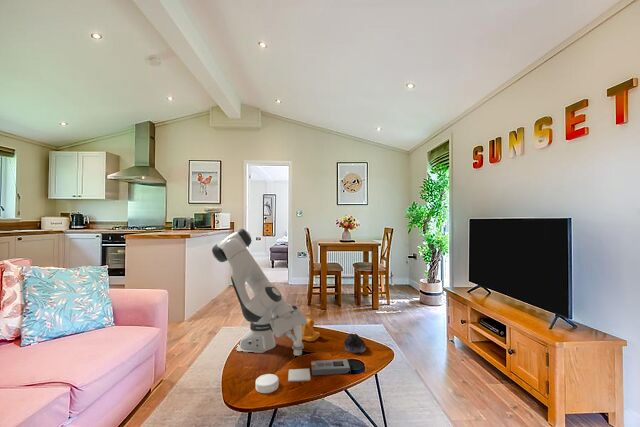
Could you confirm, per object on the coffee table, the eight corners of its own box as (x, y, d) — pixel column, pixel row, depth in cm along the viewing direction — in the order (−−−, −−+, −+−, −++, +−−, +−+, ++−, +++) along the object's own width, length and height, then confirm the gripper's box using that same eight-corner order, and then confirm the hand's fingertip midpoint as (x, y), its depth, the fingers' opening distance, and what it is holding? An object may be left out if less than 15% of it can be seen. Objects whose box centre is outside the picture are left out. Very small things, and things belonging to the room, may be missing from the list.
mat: (288, 381, 131) (288, 380, 131) (288, 370, 141) (288, 369, 141) (310, 380, 131) (310, 379, 131) (309, 369, 141) (309, 368, 141)
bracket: (310, 342, 174) (309, 322, 174) (300, 340, 178) (300, 320, 178) (320, 337, 183) (320, 317, 183) (311, 334, 187) (310, 315, 187)
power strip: (312, 375, 136) (311, 368, 136) (311, 366, 145) (311, 359, 145) (350, 373, 137) (350, 366, 137) (347, 364, 146) (346, 357, 146)
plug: (291, 356, 133) (291, 327, 134) (292, 351, 139) (291, 323, 139) (303, 356, 133) (303, 327, 134) (303, 350, 139) (303, 323, 140)
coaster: (277, 393, 122) (277, 384, 122) (253, 394, 122) (253, 386, 122) (279, 380, 132) (279, 372, 132) (257, 382, 132) (257, 374, 132)
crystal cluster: (356, 343, 173) (354, 326, 174) (372, 349, 162) (369, 331, 163) (339, 351, 166) (336, 333, 166) (354, 357, 154) (351, 338, 155)
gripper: (271, 315, 132) (287, 341, 126) (299, 305, 149) (315, 328, 143) (264, 323, 135) (279, 349, 129) (292, 312, 151) (308, 335, 145)
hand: (298, 338), depth 136 cm, fingers closed on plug, 4 cm apart
